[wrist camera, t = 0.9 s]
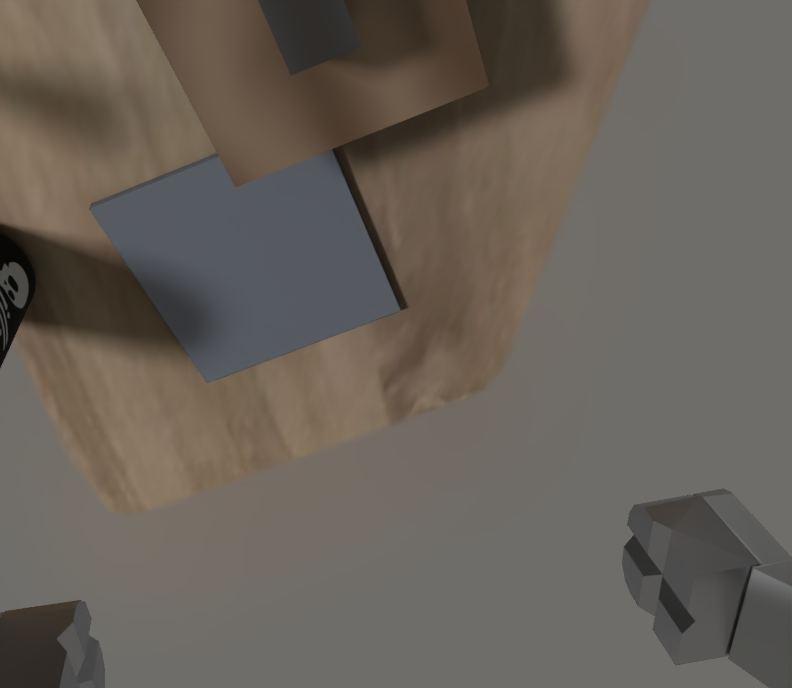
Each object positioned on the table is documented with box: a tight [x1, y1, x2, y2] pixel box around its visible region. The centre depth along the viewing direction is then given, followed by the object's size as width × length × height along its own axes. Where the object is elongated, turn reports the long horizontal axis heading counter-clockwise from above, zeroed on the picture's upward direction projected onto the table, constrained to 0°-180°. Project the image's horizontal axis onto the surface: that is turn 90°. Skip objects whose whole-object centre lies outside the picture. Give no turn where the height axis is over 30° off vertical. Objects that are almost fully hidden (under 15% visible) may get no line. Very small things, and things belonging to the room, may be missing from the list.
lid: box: [137, 0, 490, 187], centre depth 31 cm, size 13×13×5 cm
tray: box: [89, 149, 401, 383], centre depth 47 cm, size 14×14×1 cm
